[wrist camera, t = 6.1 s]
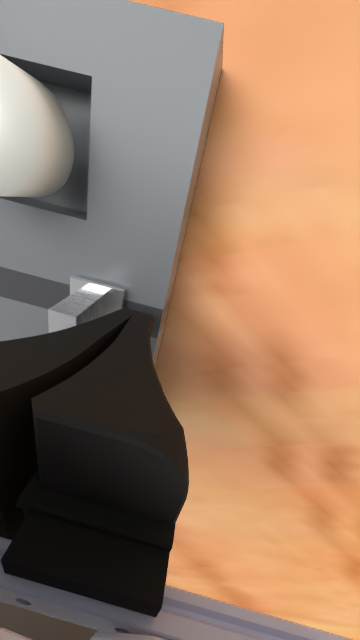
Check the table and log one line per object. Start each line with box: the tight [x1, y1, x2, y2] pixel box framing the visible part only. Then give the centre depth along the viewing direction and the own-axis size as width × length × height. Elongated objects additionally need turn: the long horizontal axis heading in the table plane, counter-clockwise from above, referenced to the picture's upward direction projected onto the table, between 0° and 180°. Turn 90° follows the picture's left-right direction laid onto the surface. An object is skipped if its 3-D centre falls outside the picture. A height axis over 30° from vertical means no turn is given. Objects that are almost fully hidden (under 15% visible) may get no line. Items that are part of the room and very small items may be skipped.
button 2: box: [0, 55, 74, 197], centre depth 8 cm, size 4×4×2 cm
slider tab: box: [48, 276, 126, 333], centre depth 10 cm, size 3×2×3 cm
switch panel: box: [0, 0, 224, 367], centre depth 13 cm, size 20×12×2 cm, turn 167°
